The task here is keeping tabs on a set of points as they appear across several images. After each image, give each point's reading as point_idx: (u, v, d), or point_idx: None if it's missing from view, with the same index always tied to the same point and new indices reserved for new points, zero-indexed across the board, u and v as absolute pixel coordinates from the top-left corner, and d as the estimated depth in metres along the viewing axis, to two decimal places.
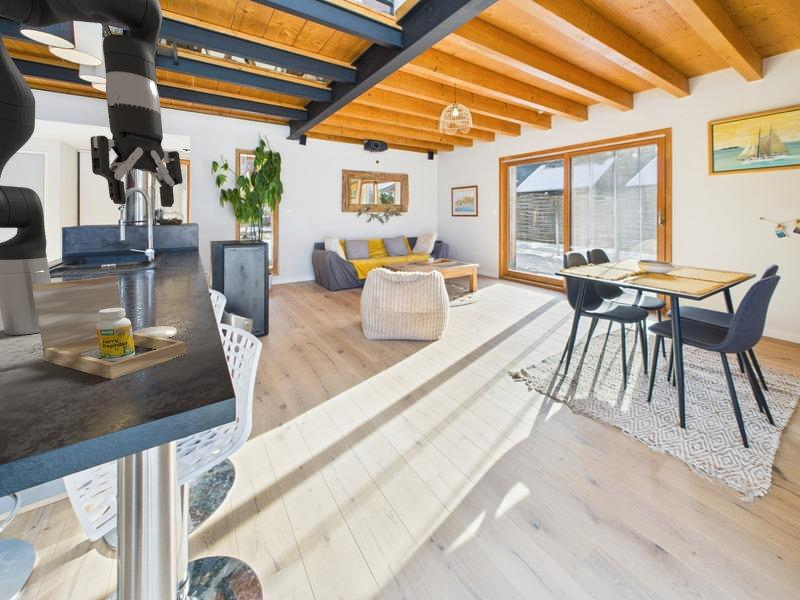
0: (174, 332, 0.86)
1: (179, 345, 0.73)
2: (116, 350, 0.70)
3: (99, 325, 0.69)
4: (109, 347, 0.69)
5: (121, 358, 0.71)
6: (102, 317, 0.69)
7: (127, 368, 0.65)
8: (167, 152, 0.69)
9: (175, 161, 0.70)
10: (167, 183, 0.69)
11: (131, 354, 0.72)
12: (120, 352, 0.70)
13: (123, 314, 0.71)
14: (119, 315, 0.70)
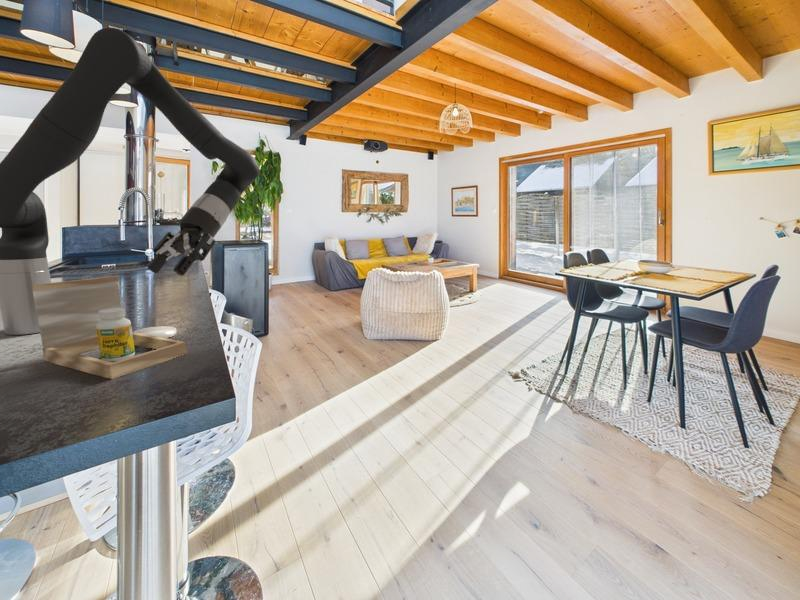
0: (174, 332, 0.86)
1: (179, 345, 0.73)
2: (116, 350, 0.70)
3: (99, 325, 0.69)
4: (109, 347, 0.69)
5: (121, 358, 0.71)
6: (102, 317, 0.69)
7: (127, 368, 0.65)
8: None
9: None
10: (167, 258, 0.84)
11: (131, 354, 0.72)
12: (120, 352, 0.70)
13: (123, 314, 0.71)
14: (119, 315, 0.70)
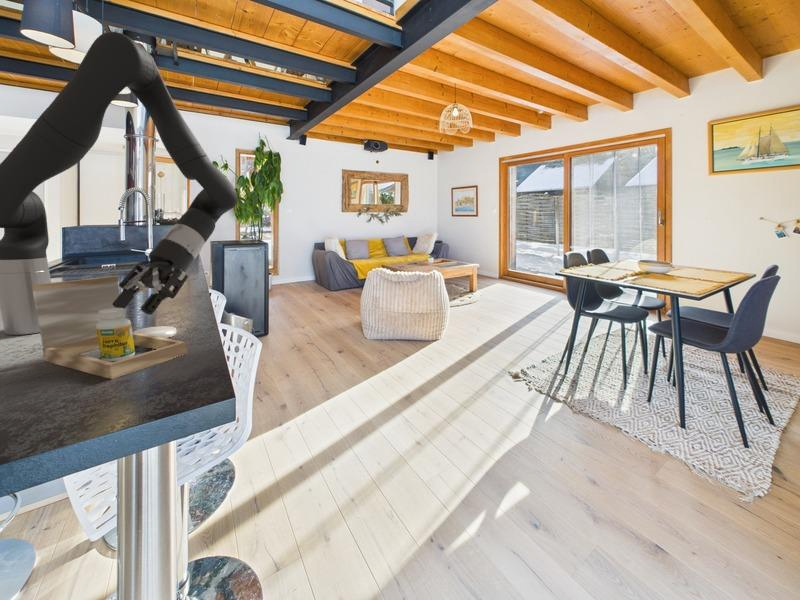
0: (174, 332, 0.86)
1: (179, 345, 0.73)
2: (116, 350, 0.70)
3: (99, 325, 0.69)
4: (109, 347, 0.69)
5: (121, 358, 0.71)
6: (102, 317, 0.69)
7: (127, 368, 0.65)
8: None
9: None
10: (134, 293, 0.78)
11: (131, 354, 0.72)
12: (120, 352, 0.70)
13: (123, 314, 0.71)
14: (119, 315, 0.70)
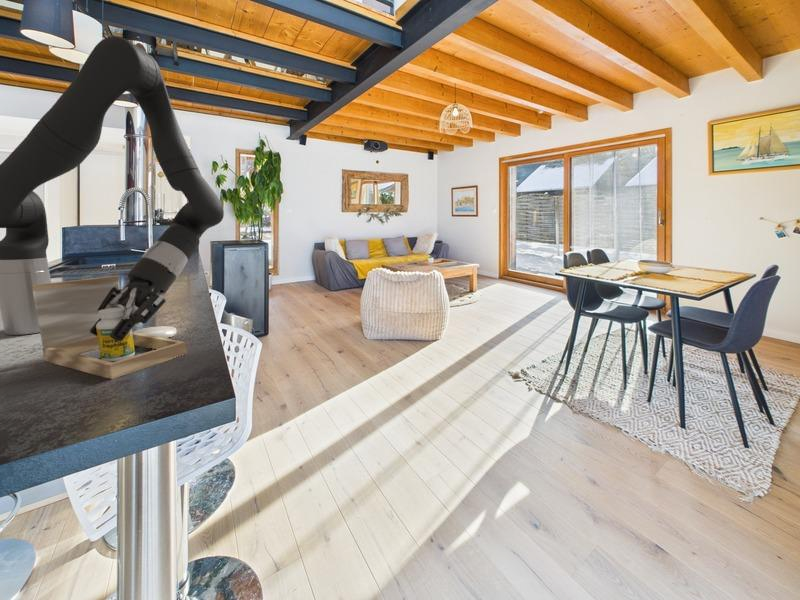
0: (174, 332, 0.86)
1: (179, 345, 0.73)
2: (116, 350, 0.70)
3: (99, 325, 0.69)
4: (109, 347, 0.69)
5: (121, 358, 0.71)
6: (102, 317, 0.69)
7: (127, 368, 0.65)
8: None
9: None
10: None
11: (131, 354, 0.72)
12: (120, 352, 0.70)
13: (123, 314, 0.71)
14: (119, 315, 0.70)
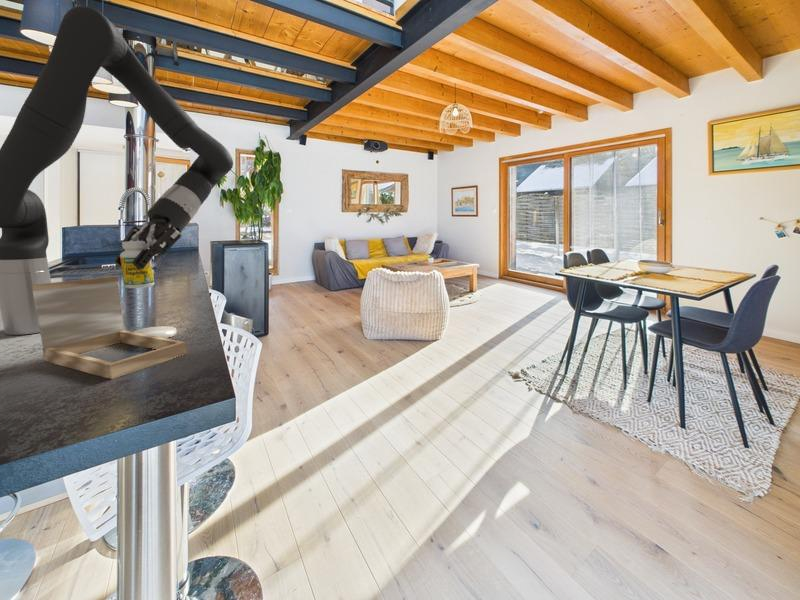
0: (174, 332, 0.86)
1: (179, 345, 0.73)
2: (138, 277, 0.78)
3: (123, 254, 0.76)
4: (132, 274, 0.77)
5: (142, 285, 0.78)
6: (125, 247, 0.76)
7: (127, 368, 0.65)
8: None
9: None
10: None
11: (151, 283, 0.80)
12: (141, 280, 0.78)
13: (144, 246, 0.79)
14: (141, 246, 0.78)
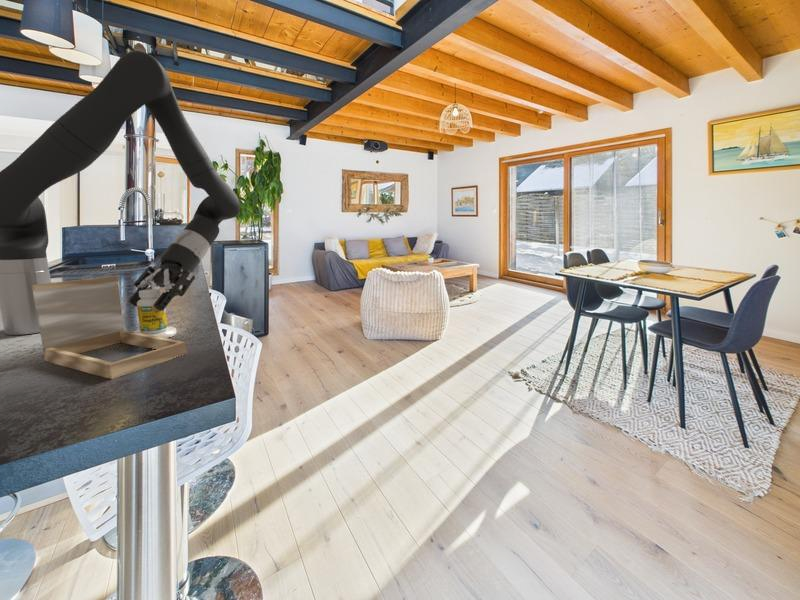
0: (174, 332, 0.86)
1: (179, 345, 0.73)
2: (153, 324, 0.83)
3: (140, 303, 0.82)
4: (148, 321, 0.83)
5: (157, 331, 0.84)
6: (142, 296, 0.82)
7: (127, 368, 0.65)
8: None
9: None
10: None
11: (165, 328, 0.86)
12: (157, 326, 0.84)
13: (159, 294, 0.84)
14: (156, 295, 0.84)
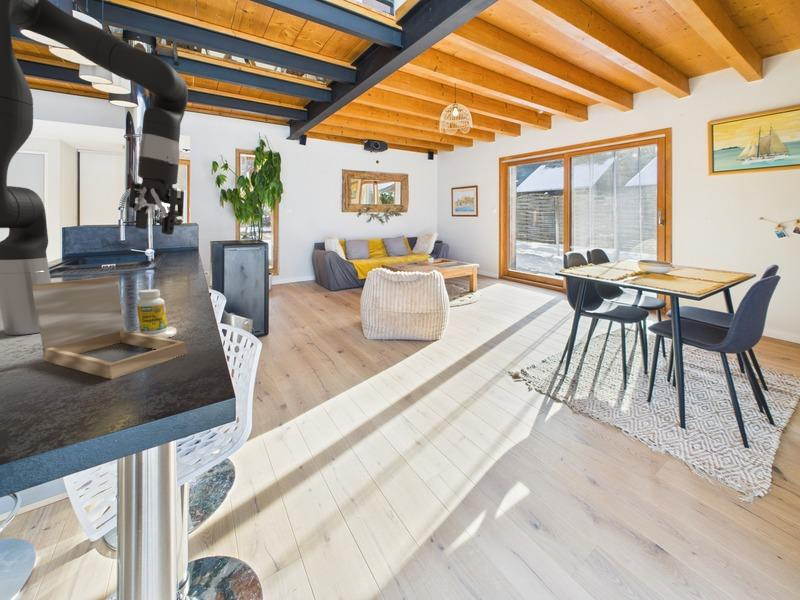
0: (174, 332, 0.86)
1: (179, 345, 0.73)
2: (153, 324, 0.83)
3: (140, 303, 0.82)
4: (148, 321, 0.83)
5: (157, 331, 0.84)
6: (142, 296, 0.82)
7: (127, 368, 0.65)
8: None
9: None
10: (146, 211, 0.88)
11: (165, 328, 0.86)
12: (157, 326, 0.84)
13: (159, 294, 0.84)
14: (156, 295, 0.84)
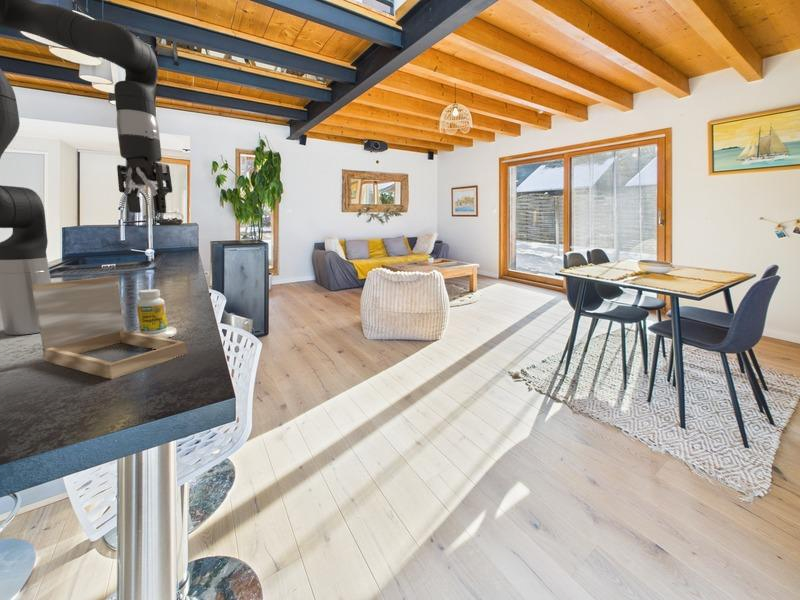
0: (174, 332, 0.86)
1: (179, 345, 0.73)
2: (153, 324, 0.83)
3: (140, 303, 0.82)
4: (148, 321, 0.83)
5: (157, 331, 0.84)
6: (142, 296, 0.82)
7: (127, 368, 0.65)
8: None
9: None
10: (137, 193, 0.85)
11: (165, 328, 0.86)
12: (157, 326, 0.84)
13: (159, 294, 0.84)
14: (156, 295, 0.84)
